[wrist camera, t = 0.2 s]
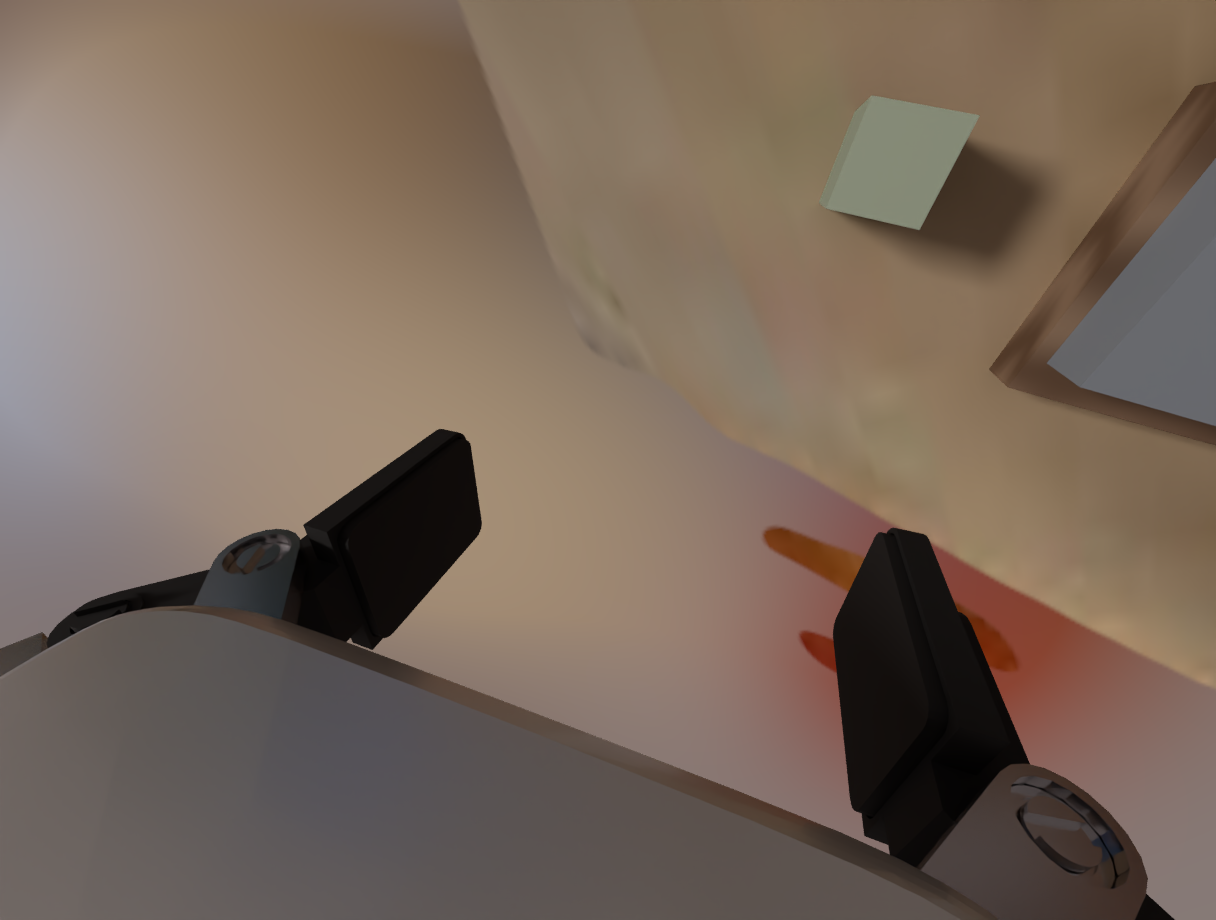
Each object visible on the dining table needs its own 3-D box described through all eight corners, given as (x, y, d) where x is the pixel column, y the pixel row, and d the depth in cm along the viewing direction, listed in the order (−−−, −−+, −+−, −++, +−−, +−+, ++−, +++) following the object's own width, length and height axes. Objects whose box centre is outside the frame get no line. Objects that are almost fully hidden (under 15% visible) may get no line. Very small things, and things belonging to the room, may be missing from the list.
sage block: (854, 111, 28) (872, 95, 22) (939, 128, 27) (979, 115, 21) (818, 202, 31) (825, 208, 25) (894, 220, 30) (919, 230, 24)
